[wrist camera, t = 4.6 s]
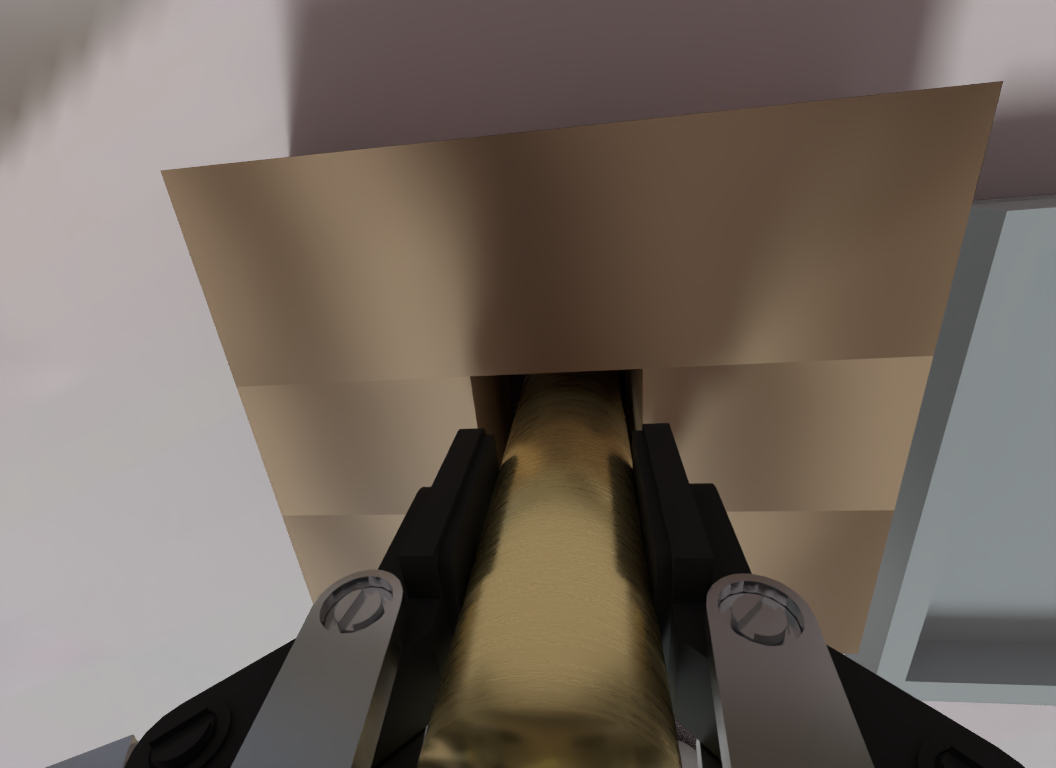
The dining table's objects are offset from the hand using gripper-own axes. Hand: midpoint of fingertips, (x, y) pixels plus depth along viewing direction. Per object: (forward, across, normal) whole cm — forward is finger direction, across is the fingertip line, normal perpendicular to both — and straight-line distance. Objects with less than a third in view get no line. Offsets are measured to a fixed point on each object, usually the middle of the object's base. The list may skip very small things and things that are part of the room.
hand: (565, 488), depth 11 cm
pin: (+6, 0, 0) cm, 6 cm away
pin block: (+7, 0, 0) cm, 7 cm away
